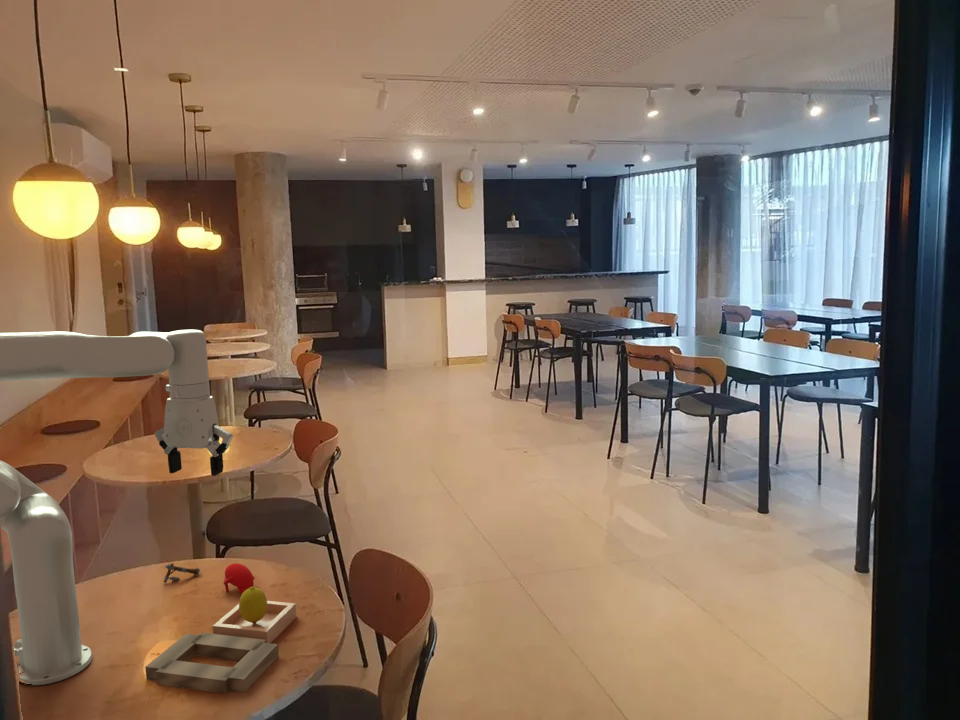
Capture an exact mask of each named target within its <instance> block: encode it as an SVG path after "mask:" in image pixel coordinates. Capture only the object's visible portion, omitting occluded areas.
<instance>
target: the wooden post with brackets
mask: <svg viewBox="0 0 960 720" xmlns="http://www.w3.org/2000/svg"><path fill="white" fill-rule="evenodd" d="M165 569H167V572H166V575H165V576H164V580H163V583H165V584H166V583H167V582H168V580H171V581H172V582H178V581H180V580H181V578H179V577H178V576H174V575H172V574H174V572H176V571H177V572H180V573H188V574H192V575H194V574H195V575H198V576H199V574H200V572H201V568H199V567H197V566H196V567H195V568H188V567H187V568H186V567H183V566H175V565H174V563H170V564H166V565H165ZM171 575H172V576H171ZM195 575H194V576H195ZM177 580H178V581H177Z"/></svg>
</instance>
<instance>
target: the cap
mask: <svg viewBox="0 0 960 720" xmlns="http://www.w3.org/2000/svg"><path fill="white" fill-rule="evenodd" d="M253 575H254V574H253V573H252V572H251V570H250V569H249V568H248V567H247V566H245V565H244V564H243V563H242V564H241V563H238V562H237V563H231V564H229V565H228V566H226V567H225V570H224V579H223V585H224V587H225V588H224V589H225V592H226V593H229V592H230V589H229V585H228V584H230V585H232V586H234V587H235V588H237V591H238V592H239V593H240V594H241V595H242V594H243V592H244V591H246V590H247V589H249V588H250V587H254V580H255V579H256V578H255V576H253Z"/></svg>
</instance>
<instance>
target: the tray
mask: <svg viewBox="0 0 960 720" xmlns="http://www.w3.org/2000/svg"><path fill="white" fill-rule="evenodd" d="M296 618H297V604H296V603H294V602H285V601H273V600H267V611H266V614H265V615H264V617H263V618H262V619H261V620H259V621H257V623H255V624H253V623H251V622H248V621H246V620H244V619H243V618H242V616H241V614H240V611H239V603H238V604H236V605H235V606H234V607H233V608H232V609H230V610H229V611H228V612H227V613H226V614H225V615H224V616H222V617H221V618H220V619H219V620H218V621H216V622H215V623H214V624H212V634H219V635H228V636H237V637H245V638H254V639H263V640H266V643H272V642H273V641H275V639H277V637H278V636H279V635H280V634H282V632H283V631H284V630H285V629H286V628H288V626H289V625H290V624H291V623H292V622H293V621H294V620H295V619H296Z"/></svg>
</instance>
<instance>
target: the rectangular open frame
mask: <svg viewBox="0 0 960 720" xmlns="http://www.w3.org/2000/svg"><path fill="white" fill-rule="evenodd" d="M196 656H197V657H205V658H213V659H221V660H230V661H238V662H237V663H236V664H234V666H232V667H231V666H225V665H224V666H223V665H215V664H209V663H199V662H192V661H191V660H193V658H194V657H196ZM278 657H279V644H278V643H272V642H271V643H266V640H263V639H254V638H245V637H237V636H228V635H219V634H213V633H210V632H209V633H208V632H201V633H200V634H192V633H185V634H184V635H182V636H181V637H180V638H179V639H178V640H176V641H175V642H174V643H172V644H171V645H170V646H168V648H167V649H165V650H164V651H162V653H161V654H159V655H158V656H157V657H155V658H154V659H153V660H151V662H149V663H148V664H147V665H146V666H144V667H145V677H146V680H149V681H156V685H158V686H167V687H174V688H181V689H188V690H195V691H197V690H198V691H203V692H204V691H205V692H211V693H216V694H217V693H219V694H225V695H226V694H228V692H239V693H246V692H247V690H248V689H250V687H251V686H253V684H255V682H256V681H257V680H259V678H260V677H261V676H262V675H263V674H264V672H266V670H267V669H268V668H269V667H270V666H271V665H272V664H273V663H274V662H275V661H276V659H278Z"/></svg>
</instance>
